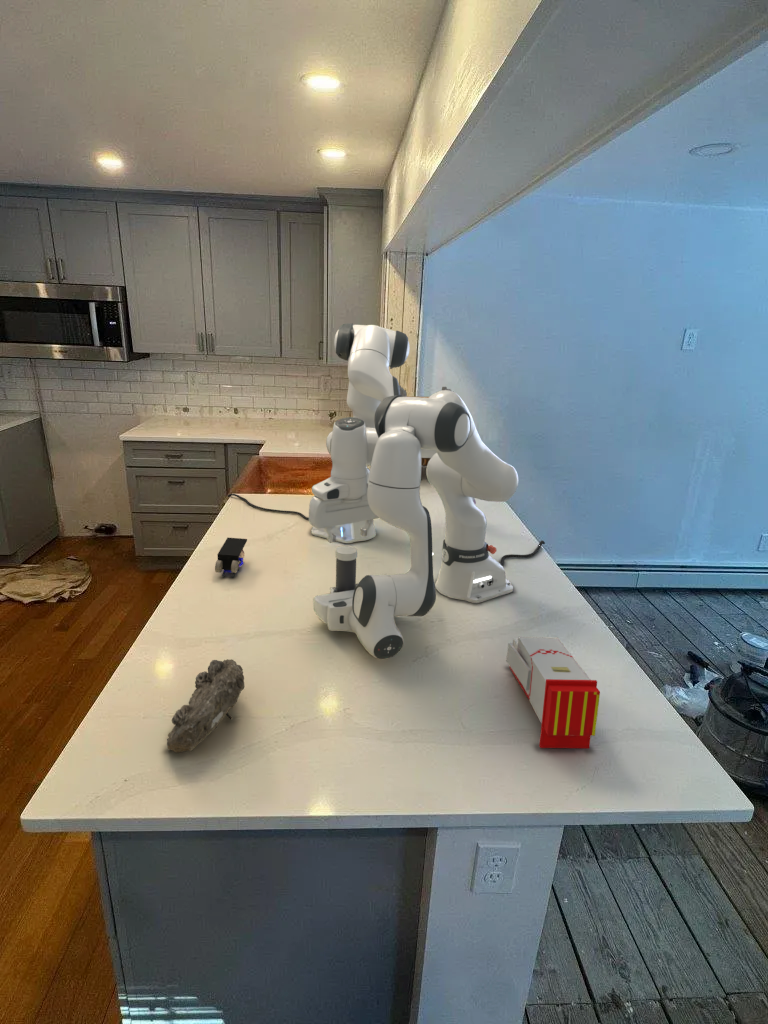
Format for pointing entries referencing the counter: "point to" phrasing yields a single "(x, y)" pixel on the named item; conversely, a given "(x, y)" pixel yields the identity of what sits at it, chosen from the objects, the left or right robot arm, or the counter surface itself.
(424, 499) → the counter surface
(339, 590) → the dark gray cylinder
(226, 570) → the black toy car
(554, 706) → the toy
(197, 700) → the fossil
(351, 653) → the counter surface
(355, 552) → the lid
